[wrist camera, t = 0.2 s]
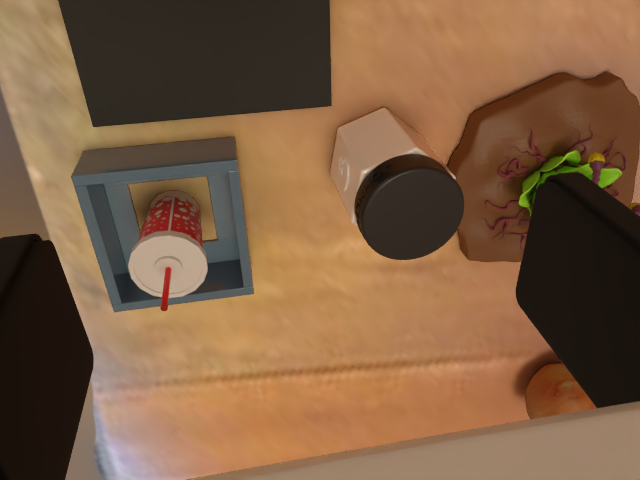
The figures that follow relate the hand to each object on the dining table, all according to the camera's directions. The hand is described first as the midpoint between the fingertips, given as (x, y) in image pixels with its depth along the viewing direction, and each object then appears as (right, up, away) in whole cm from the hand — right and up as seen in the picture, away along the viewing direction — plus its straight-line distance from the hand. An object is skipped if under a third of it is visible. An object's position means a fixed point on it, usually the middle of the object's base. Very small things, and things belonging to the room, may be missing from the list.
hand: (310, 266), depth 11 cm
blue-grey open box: (-13, +3, +39) cm, 42 cm away
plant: (+22, +7, +44) cm, 50 cm away
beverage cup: (-13, +3, +40) cm, 42 cm away
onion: (+31, -18, +62) cm, 72 cm away
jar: (+5, +9, +40) cm, 41 cm away
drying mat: (-9, +17, +31) cm, 37 cm away
